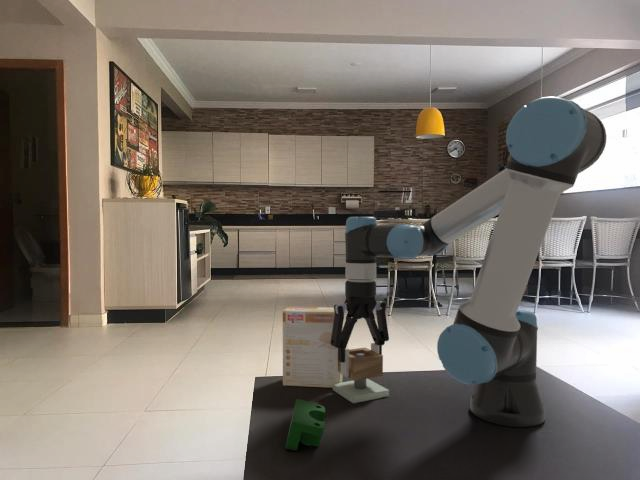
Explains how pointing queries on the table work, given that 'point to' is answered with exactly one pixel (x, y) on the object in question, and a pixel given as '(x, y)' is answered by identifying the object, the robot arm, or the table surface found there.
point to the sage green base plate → (360, 389)
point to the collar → (364, 364)
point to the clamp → (306, 424)
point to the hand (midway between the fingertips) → (360, 372)
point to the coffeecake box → (309, 347)
